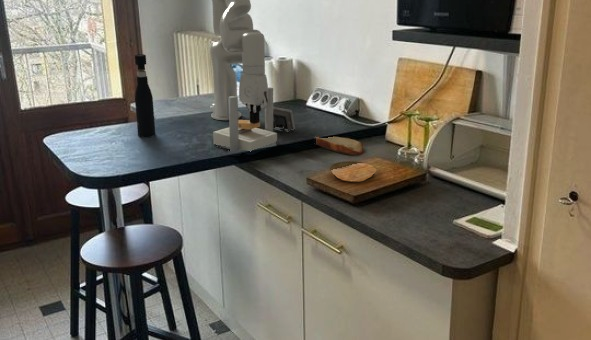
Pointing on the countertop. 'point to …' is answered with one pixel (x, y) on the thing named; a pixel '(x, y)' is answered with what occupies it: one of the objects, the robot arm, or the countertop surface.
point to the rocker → (247, 124)
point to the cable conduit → (233, 123)
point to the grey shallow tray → (246, 138)
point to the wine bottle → (143, 101)
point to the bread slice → (341, 145)
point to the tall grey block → (269, 111)
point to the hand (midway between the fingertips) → (254, 122)
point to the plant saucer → (342, 164)
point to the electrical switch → (283, 118)
